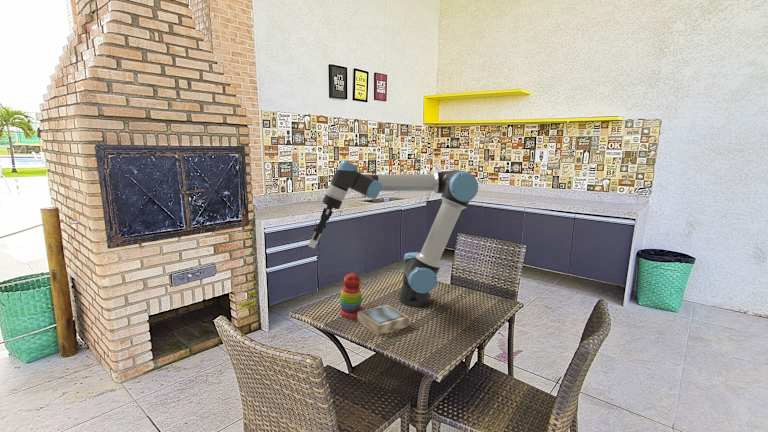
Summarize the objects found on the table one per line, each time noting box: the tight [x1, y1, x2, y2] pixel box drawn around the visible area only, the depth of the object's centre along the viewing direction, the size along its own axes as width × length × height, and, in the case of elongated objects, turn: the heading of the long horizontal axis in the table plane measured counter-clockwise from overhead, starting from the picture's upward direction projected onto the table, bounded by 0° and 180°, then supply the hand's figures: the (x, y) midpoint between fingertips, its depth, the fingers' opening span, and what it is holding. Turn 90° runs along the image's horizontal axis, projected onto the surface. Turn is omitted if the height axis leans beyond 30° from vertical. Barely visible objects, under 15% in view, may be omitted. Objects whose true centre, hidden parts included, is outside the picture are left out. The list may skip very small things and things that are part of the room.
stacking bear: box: [339, 271, 366, 321], centre depth 162 cm, size 11×10×18 cm
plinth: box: [356, 304, 410, 337], centre depth 155 cm, size 15×15×4 cm
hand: (312, 243), depth 157 cm, fingers open, 13 cm apart
